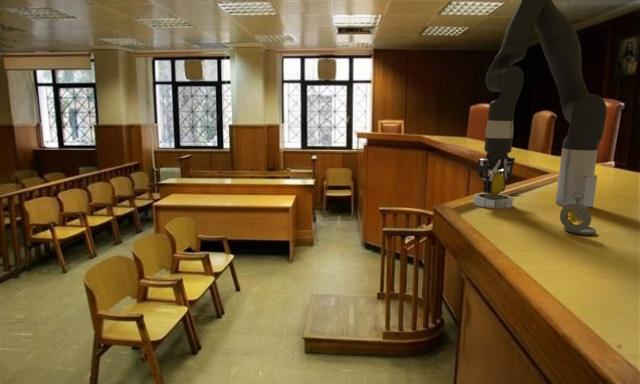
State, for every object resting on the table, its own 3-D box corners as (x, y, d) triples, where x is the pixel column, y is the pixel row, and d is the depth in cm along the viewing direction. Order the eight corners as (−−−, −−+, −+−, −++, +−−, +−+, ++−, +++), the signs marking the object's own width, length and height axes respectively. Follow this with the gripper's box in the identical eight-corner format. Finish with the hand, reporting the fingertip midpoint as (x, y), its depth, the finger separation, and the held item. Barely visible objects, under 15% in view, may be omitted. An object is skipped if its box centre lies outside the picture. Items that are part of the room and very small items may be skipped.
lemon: (501, 199, 129) (503, 172, 128) (481, 197, 132) (484, 170, 131) (504, 196, 134) (507, 170, 132) (485, 194, 137) (487, 168, 135)
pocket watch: (591, 230, 107) (597, 189, 105) (601, 239, 99) (607, 196, 97) (554, 226, 109) (559, 187, 107) (560, 235, 102) (565, 193, 100)
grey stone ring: (519, 206, 132) (520, 198, 131) (496, 210, 126) (496, 201, 126) (489, 199, 141) (490, 191, 140) (465, 202, 135) (466, 194, 135)
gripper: (503, 134, 136) (498, 188, 140) (472, 135, 129) (467, 192, 132) (525, 136, 130) (519, 192, 133) (493, 137, 123) (488, 196, 126)
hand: (493, 191), depth 133 cm, fingers closed on lemon, 5 cm apart
